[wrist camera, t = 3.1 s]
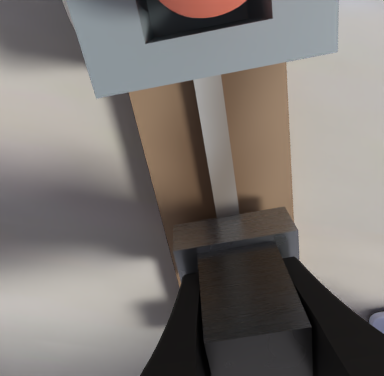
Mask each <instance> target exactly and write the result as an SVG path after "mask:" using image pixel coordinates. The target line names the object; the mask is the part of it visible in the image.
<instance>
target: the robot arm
mask: <svg viewBox="0 0 384 376" xmlns="http://www.w3.org/2000/svg"><path fill="white" fill-rule="evenodd" d="M282 259H283V261H284V263H285V266H286V268H287V270H288V273H289V275H290V277H291V280H292V282H293V284H294V287H295V289H296V291H297V294H298V296H299V298H300V301H301V303H302V305H303V308H304V310H305V312H306V315H307V317H308V320H309V322H310V324H311V327H312V360H313V376H384V311H383V312H377V313H374V314H373V315H372V316H371V317H370V319H369V323H368V322H367V321H365V320H364V319H363V318H361V317H360V316H359V315H357V314H356V313H355V312H353V311H352V310H351V309H350V308H349V307H347V306H346V305H345V304H344V303H343V302H341V301H340V300H339V299H338V298H337V297H336V296H334V295H333V294H332V293H331V292H330V291H329V290H328V289H327V288H326V287H325V286H324V285H322V284H321V283H320V282H319V281H318V280H317V279H316V278H315V277H314V276H313V275H312V274H311V273H310V272H309V271H308V270H307V269H306V267H305V266H304V265H303V264H302V263H301V262H300V261H299V260H298V259H297V258H296V257H294V256H293V257H287V258H282ZM140 376H212V374H211V370H210V366H209V362H208V358H207V354H206V349H205V345H204V336H203V323H202V310H201V296H200V283H199V272H197V273H191V274H185V275H184V276H183V277H182V281H181V285H180V289H179V292H178V296H177V299H176V302H175V305H174V307H173V310H172V313H171V315H170V318H169V320H168V323H167V325H166V327H165V329H164V332H163V334H162V336H161V338H160V341H159V343H158V345H157V347H156V349H155V350H154V352H153V354H152V356H151V358H150V360H149V361H148V363H147V365H146V367H145V368H144V370H143V372H142V373H141V375H140Z"/></svg>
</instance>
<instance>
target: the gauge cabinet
mask: <svg viewBox="0 0 384 376" xmlns="http://www.w3.org/2000/svg"><path fill="white" fill-rule="evenodd" d="M62 2H63V5H64V7H65V10H66V12H67V15H68V17H69V19H70V21H71V23H72V26H73V28H74V29H75V31H76V34H77V37H78V41H79V44H80V47H81V50H82V54H83V57H84V60H85V63H86V67H87V70H88V73H89V76H90V80H91V83H92V86H93V89H94V93H95V96H96V98H102V97H107V96H112V95H117V94H122V93H128V92H133V91H138V90H143V89H148V88H154V87H159V86H164V85H169V84H174V83H180V82H185V81H190V80H195V79H200V78H206V77H211V76H216V75H221V74H226V73H232V72H237V71H242V70H247V69H252V68H258V67H263V66H268V65H273V64H278V63H284V62H289V61H294V60H299V59H304V58H310V57H315V56H320V55H325V54H330V53H336V52H338V12H339V0H246V1H245V2H244V3H243V4H242V5H240V6H239V7H237V8H235V9H234V10H232V11H230V12H228V13H225V14H223V15H219V16H216V17H209V18H189V17H184V16H181V15H178V14H176V13H174V12H172V11H171V10H169V9H168V8H167V7H166V6H164V5H163V4H162V3H161V2H160V1H159V0H62Z"/></svg>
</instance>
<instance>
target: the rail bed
mask: <svg viewBox="0 0 384 376" xmlns="http://www.w3.org/2000/svg"><path fill="white" fill-rule="evenodd" d="M129 96H130V100H131V104H132V108H133V111H134V115H135V119H136V123H137V127H138V131H139V134H140V138H141V142H142V146H143V150H144V153H145V157H146V161H147V165H148V169H149V173H150V176H151V180H152V184H153V188H154V192H155V196H156V199H157V203H158V207H159V211H160V215H161V218H162V222H163V226H164V230H165V234H166V238H167V241H168V245H169V249H170V253H171V257H172V261H173V264H174V268H175V272H176V276H177V280H178V283H179V287H180V285H181V281H180V277H179V273H178V269H177V265H176V262H175V258H174V254H173V228H174V225H178V224H184V223H190V222H195V221H201V220H207V219H213V218H219V217H225V216H231V215H237V214H242V213H248V212H254V211H260V210H266V209H272V208H278V207H284V206H285V208H286V210H287V211H288V213H289V215H290V217H291V219H292V220H293V222H294V216H293V195H292V174H291V154H290V133H289V112H288V91H287V70H286V62H284V63H278V64H273V65H268V66H263V67H258V68H252V69H247V70H242V71H237V72H232V73H226V74H221V75H216V76H211V77H206V78H200V79H195V80H190V81H185V82H180V83H174V84H169V85H164V86H159V87H154V88H148V89H143V90H138V91H133V92H129Z"/></svg>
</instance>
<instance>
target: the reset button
mask: <svg viewBox="0 0 384 376" xmlns="http://www.w3.org/2000/svg"><path fill="white" fill-rule="evenodd" d="M159 1H160V2H161V3H162V4H163V5H164V6H166V7H167V8H168V9H169V10H171V11H172V12H174V13H176V14H178V15H181V16H184V17H189V18H209V17H216V16H219V15H223V14H225V13H228V12H230V11H232V10H234V9H235V8H237V7H239V6H240V5H242V4H243V3H244V2H245V1H246V0H159Z"/></svg>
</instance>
